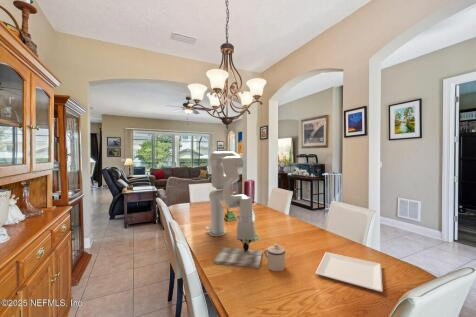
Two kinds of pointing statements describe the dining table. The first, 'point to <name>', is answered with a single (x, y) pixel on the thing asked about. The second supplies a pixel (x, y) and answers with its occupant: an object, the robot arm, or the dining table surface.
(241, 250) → the folded checkered cloth
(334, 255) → the plate
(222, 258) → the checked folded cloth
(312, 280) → the dining table surface
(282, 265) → the teacup with lid
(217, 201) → the robot arm
